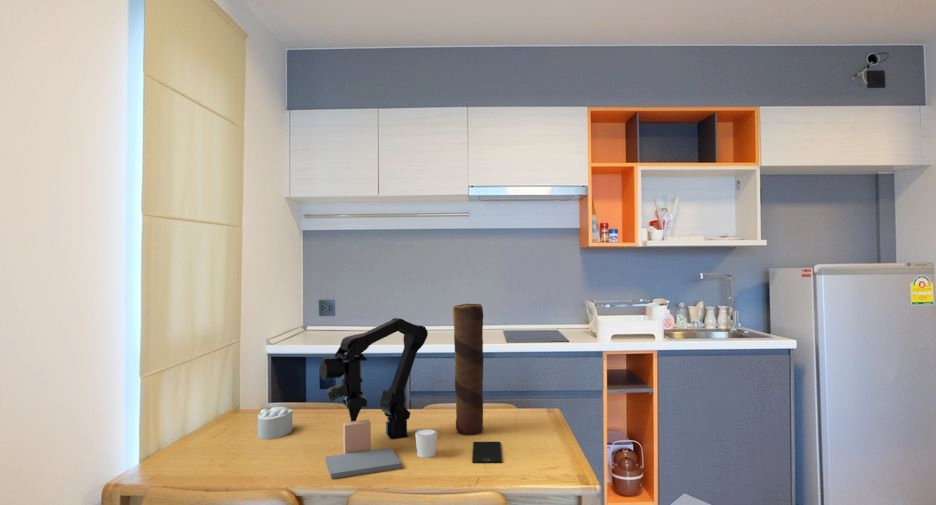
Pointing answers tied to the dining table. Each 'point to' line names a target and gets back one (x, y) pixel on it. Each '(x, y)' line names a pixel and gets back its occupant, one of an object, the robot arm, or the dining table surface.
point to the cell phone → (486, 452)
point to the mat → (362, 462)
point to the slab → (357, 436)
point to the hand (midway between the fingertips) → (353, 422)
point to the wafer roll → (468, 367)
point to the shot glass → (426, 442)
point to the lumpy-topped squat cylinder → (274, 423)
